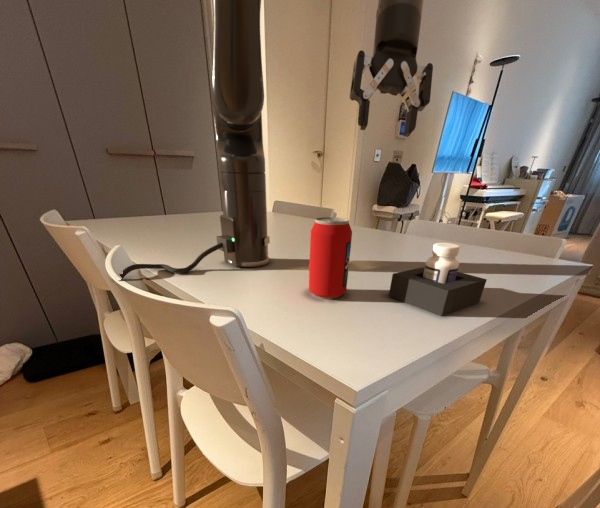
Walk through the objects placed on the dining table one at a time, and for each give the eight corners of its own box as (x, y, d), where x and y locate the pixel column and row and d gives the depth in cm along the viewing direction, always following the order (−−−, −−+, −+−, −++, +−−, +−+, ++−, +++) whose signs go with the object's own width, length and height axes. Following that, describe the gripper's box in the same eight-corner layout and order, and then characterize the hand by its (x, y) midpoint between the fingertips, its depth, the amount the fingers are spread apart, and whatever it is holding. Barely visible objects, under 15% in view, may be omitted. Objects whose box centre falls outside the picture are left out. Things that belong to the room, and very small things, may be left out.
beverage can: (353, 296, 60) (362, 221, 53) (322, 303, 57) (327, 224, 50) (331, 286, 64) (336, 215, 57) (301, 291, 61) (303, 217, 54)
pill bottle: (444, 295, 61) (459, 242, 56) (452, 305, 57) (469, 249, 52) (415, 293, 62) (427, 241, 56) (420, 303, 57) (434, 247, 52)
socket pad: (441, 316, 53) (448, 290, 51) (388, 296, 60) (392, 273, 58) (479, 302, 58) (487, 279, 56) (426, 286, 65) (431, 264, 63)
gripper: (365, -9, 52) (354, 115, 57) (449, 9, 55) (432, 127, 59) (351, 28, 59) (343, 135, 64) (426, 42, 62) (412, 145, 66)
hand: (386, 131), depth 62 cm, fingers open, 8 cm apart
